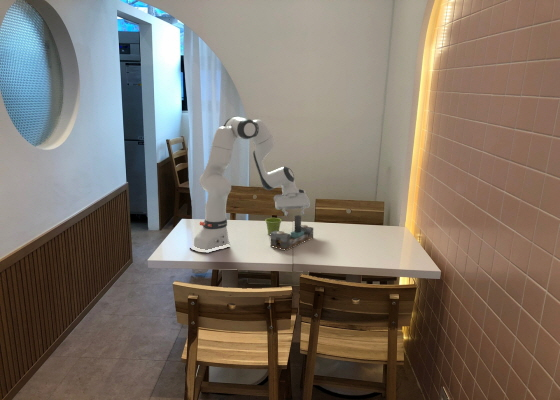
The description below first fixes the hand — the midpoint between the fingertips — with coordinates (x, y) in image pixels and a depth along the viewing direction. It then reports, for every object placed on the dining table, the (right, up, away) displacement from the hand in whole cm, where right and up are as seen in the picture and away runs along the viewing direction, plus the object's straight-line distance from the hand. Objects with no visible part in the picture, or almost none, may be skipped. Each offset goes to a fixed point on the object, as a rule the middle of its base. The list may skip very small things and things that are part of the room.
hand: (294, 214), depth 260 cm
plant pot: (-12, -12, +7) cm, 19 cm away
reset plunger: (-7, -15, -14) cm, 22 cm away
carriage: (+1, -12, -3) cm, 13 cm away
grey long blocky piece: (-1, -15, -7) cm, 16 cm away
